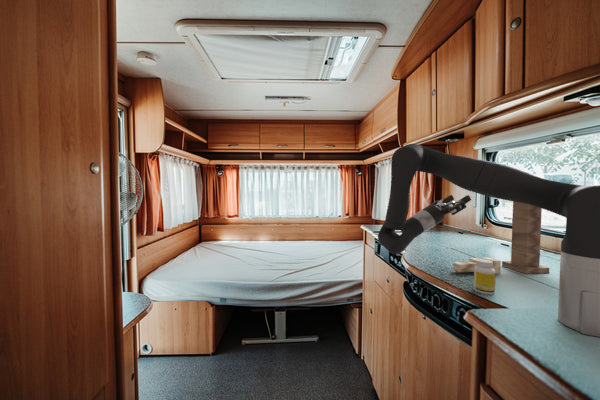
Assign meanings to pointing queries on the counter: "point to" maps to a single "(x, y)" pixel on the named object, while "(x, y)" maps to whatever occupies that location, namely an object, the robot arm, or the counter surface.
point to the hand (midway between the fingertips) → (460, 197)
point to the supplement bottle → (484, 277)
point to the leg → (473, 263)
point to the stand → (526, 240)
